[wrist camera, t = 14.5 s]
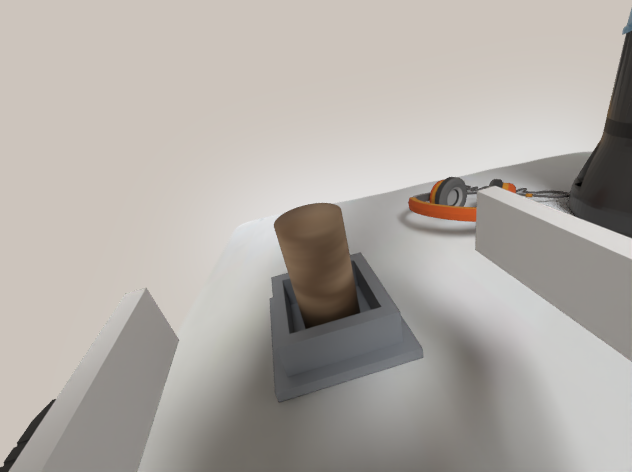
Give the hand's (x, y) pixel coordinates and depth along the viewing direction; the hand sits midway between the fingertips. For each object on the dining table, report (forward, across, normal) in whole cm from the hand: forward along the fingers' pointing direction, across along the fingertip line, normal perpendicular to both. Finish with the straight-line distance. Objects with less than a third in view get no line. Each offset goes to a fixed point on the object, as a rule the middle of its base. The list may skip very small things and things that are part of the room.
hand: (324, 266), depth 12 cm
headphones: (+22, +23, -14) cm, 35 cm away
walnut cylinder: (+10, 0, -12) cm, 15 cm away
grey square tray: (+10, 0, -13) cm, 16 cm away
